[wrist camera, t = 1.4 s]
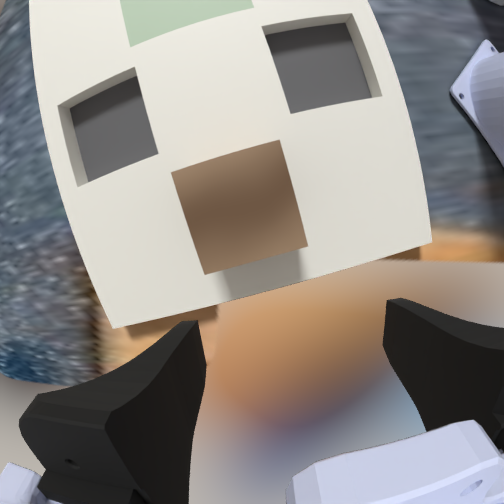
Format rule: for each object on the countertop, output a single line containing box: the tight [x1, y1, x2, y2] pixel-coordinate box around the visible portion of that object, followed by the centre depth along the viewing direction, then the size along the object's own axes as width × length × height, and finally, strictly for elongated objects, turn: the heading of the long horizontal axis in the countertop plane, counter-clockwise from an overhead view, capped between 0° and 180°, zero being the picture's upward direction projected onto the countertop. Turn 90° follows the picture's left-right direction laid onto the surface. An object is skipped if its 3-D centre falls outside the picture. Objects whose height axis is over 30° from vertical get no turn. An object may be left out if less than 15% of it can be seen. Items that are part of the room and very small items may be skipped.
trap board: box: [29, 0, 432, 329], centre depth 17 cm, size 28×23×2 cm
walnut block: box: [171, 140, 308, 275], centre depth 16 cm, size 5×5×4 cm
